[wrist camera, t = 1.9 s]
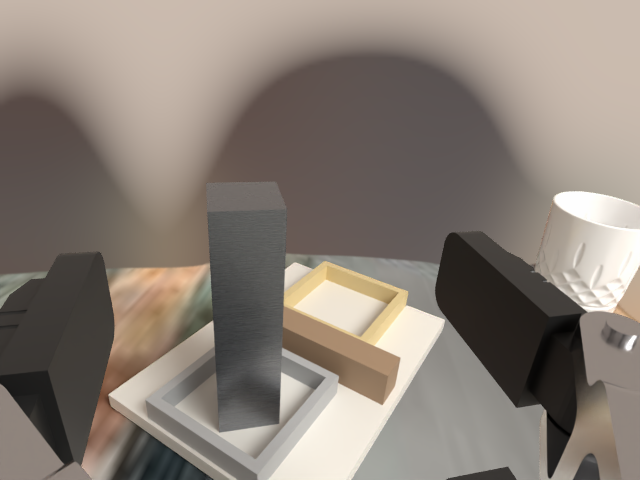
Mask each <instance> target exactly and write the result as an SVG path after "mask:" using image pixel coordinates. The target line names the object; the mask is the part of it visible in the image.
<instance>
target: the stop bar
mask: <svg viewBox="0 0 640 480" xmlns="http://www.w3.org/2000/svg"><path fill="white" fill-rule="evenodd" d="M206 186H207V214H208V231H209V250H210V269H211V288H212V306H213V325H214V343H215V362H216V380H217V398H218V417H219V433H220V432H227V431H234V430H241V429H248V428H255V427H261V426H268V425H275V424H279V420H280V392H281V364H282V336H283V309H284V281H285V253H286V225H287V208H286V205H285V203H284V200H283V198H282V196H281V194H280V191H279V188H278V186H277V183H276V182H237V183H236V182H235V183H206Z"/></svg>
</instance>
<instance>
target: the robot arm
mask: <svg viewBox="0 0 640 480" xmlns="http://www.w3.org/2000/svg"><path fill="white" fill-rule="evenodd" d="M435 294H436V300H437V304H438V306H439V308H440V310H441V311H442V313H443V314H444V315H445V316H446V318H447V319H448V320H449V322H450V323H451V324H452V325H453V327H454V328H455V329H456V331H457V332H458V333H459V334H460V336H461V337H462V338H463V340H464V341H465V342H466V343H467V345H468V346H469V347H470V349H471V350H472V351H473V352H474V354H475V355H476V356H477V358H478V359H479V360H480V361H481V363H482V364H483V365H484V367H485V368H486V369H487V370H488V372H489V373H490V374H491V376H492V377H493V378H494V379H495V381H496V382H497V383H498V385H499V386H500V387H501V388H502V390H503V391H504V392H505V393H506V395H507V396H508V397H509V399H510V400H511V401H512V402H513V404H514V405H515V406H516V408H518V407H525V406H531V405H537V404H541V405H542V406H543V407H544V411H543V413H542V416H541V418H540V455H539V480H640V323H638V322H637V321H634V320H632V319H630V318H627V317H625V316H622V315H618V314H615V313H610V312H603V311H593V312H587V311H586V310H584V309H583V308H582V307H581V306H579V305H578V304H577V303H576V302H574V301H573V300H572V299H571V298H569V297H568V296H567V295H566V294H564V293H563V292H562V291H561V290H560V289H558V288H557V287H556V286H555V285H553V284H552V283H551V282H547V279H546V278H545V277H543V276H542V275H541V274H540V273H538V272H535V269H533V268H532V267H531V266H530V265H528V264H527V263H526V262H524V261H523V260H522V259H521V258H519V257H517V256H515V255H513V254H511V253H509V252H507V251H505V250H504V249H502V248H501V247H500V246H499V245H498V244H496V243H495V242H494V241H493V240H492V239H490V238H489V237H488V236H487V235H485V234H484V233H483V232H481V231H471V232H454V233H450V234H449V235H448V236H447V238H446V240H445V243H444V248H443V253H442V258H441V262H440V267H439V272H438V277H437V282H436V287H435ZM113 339H114V313H113V308H112V302H111V297H110V292H109V286H108V281H107V275H106V270H105V265H104V260H103V257H102V255H101V253H100V252H83V253H65V254H59V255H58V256H57V258H56V260H55V262H54V264H53V265H52V267H51V269H50V270H49V272H48V274H47V276H46V278H43V279H31V280H30V281H28V282H27V283H25V284H24V285H23V286H21V287H20V288H18V289H17V290H16V291H14V292H13V293H12V294H10V295H9V297H8V298H7V300H6V301H5V303H4V305H3V306H2V308H1V309H0V480H92V479H91V478H90V477H89V475H88V474H87V473H86V472H85V471H84V469H83V468H82V467H81V464H82V461H83V457H84V453H85V449H86V445H87V441H88V437H89V433H90V429H91V426H92V422H93V418H94V414H95V410H96V406H97V402H98V398H99V394H100V390H101V387H102V383H103V379H104V375H105V371H106V367H107V363H108V359H109V355H110V352H111V348H112V344H113ZM447 480H516V478H515V477H514V475H513V474H512V472H511V471H510V469H509V468H508V467H504V468H499V469H494V470H489V471H484V472H478V473H473V474H468V475H463V476H458V477H453V478H448V479H447Z"/></svg>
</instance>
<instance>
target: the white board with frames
mask: <svg viewBox="0 0 640 480" xmlns="http://www.w3.org/2000/svg"><path fill="white" fill-rule="evenodd" d="M407 296H408V291H405V290H402V289H399V288H397V287H394V286H391V285H389V284H386V283H383V282H381V281H378V280H375V279H372V278H370V277H367V276H364V275H362V274H359V273H356V272H353V271H351V270H348V269H345V268H343V267H340V266H337V265H335V264H332V263H329V262H326V261H324V262H323V263H322V264H320V265H319V266H318V267H316V268H315V269H314V270H313V269H311V268H308V267H306V266H303V265H300V264H298V263H293V264H292V265H290V266H289V267H288V268H286V269H285V281H284V309H283V336H282V364H281V392H280V420H279V424H275V425H268V426H261V427H255V428H248V429H241V430H234V431H227V432H220V433H219V417H218V398H217V380H216V362H215V343H214V325H213V321H211V322H210V323H209V324H207V325H206V326H204V327H203V328H202V329H200V330H199V331H197V332H196V333H195V334H193V335H192V336H190V337H189V338H187V339H186V340H185V341H183V342H182V343H180V344H179V345H178V346H176V347H175V348H173V349H172V350H171V351H169V352H168V353H166V354H165V355H163V356H162V357H161V358H159V359H158V360H156V361H155V362H154V363H152V364H151V365H149V366H148V367H147V368H145V369H144V370H142V371H141V372H139V373H138V374H137V375H135V376H134V377H132V378H131V379H130V380H128V381H127V382H125V383H124V384H123V385H121V386H120V387H118V388H117V389H115V390H114V391H113V392H111V393H110V394H108V396H109V401H110V405H111V407H113V408H114V409H115V410H117V411H118V412H120V413H121V414H122V415H124V416H125V417H127V418H128V419H130V420H131V421H132V422H134V423H135V424H137V425H138V426H139V427H141V428H142V429H144V430H145V431H146V432H148V433H149V434H151V435H152V436H153V437H155V438H156V439H158V440H159V441H160V442H162V443H163V444H165V445H166V446H168V447H169V448H170V449H172V450H173V451H175V452H176V453H177V454H179V455H180V456H182V457H183V458H184V459H186V460H187V461H189V462H190V463H191V464H193V465H194V466H196V467H197V468H198V469H200V470H201V471H203V472H204V473H206V474H207V475H208V476H210V477H211V478H213V479H214V480H351V479H352V478H353V476H354V475H355V473H356V471H357V470H358V468H359V466H360V465H361V463H362V461H363V460H364V458H365V456H366V455H367V453H368V452H369V450H370V448H371V447H372V445H373V443H374V442H375V440H376V438H377V437H378V435H379V433H380V432H381V430H382V429H383V427H384V425H385V424H386V422H387V420H388V419H389V417H390V415H391V414H392V412H393V410H394V409H395V407H396V406H397V404H398V402H399V401H400V399H401V397H402V396H403V394H404V392H405V391H406V389H407V387H408V386H409V384H410V383H411V381H412V379H413V378H414V376H415V374H416V373H417V371H418V369H419V368H420V366H421V364H422V363H423V361H424V360H425V358H426V356H427V355H428V353H429V351H430V350H431V348H432V346H433V345H434V343H435V341H436V340H437V338H438V337H439V335H440V333H441V332H442V330H443V326H444V322H445V320H443V319H441V318H438V317H436V316H433V315H430V314H428V313H425V312H423V311H420V310H417V309H415V308H412V307H410V306H407V305H406V302H407Z"/></svg>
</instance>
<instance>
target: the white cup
mask: <svg viewBox="0 0 640 480" xmlns="http://www.w3.org/2000/svg"><path fill="white" fill-rule="evenodd" d="M639 266H640V206H638V205H636V204H634V203H631V202H628V201H625V200H622V199H618V198H615V197H611V196H607V195H602V194H597V193H590V192H578V191H571V192H562V193H559V194H557V195H555V196H554V198H553V201H552V205H551V209H550V213H549V216H548V219H547V223H546V227H545V230H544V234H543V238H542V241H541V245H540V249H539V252H538V256H537V261H536V265H535V268H534V269H535V272H538V273H540V274H541V275H542V276H543V277H545V278H546V279H547V282H551V283H552V284H553V285H555V286H556V287H557V288H558V289H560V290H561V291H562V292H563V293H564V294H566V295H567V296H568V297H569V298H571V299H572V300H573V301H574V302H576V303H577V304H578V305H579V306H581V307H582V308H583V309H584V310H586V311H587V312H593V311H603V312H610V313H613V311H614V310H615V308H616V306H617V303H618V302H619V300H620V299H621V298H622V297H623V295H624V293H625V292H626V290H627V288H628V285H629V284H630V282H631V281H632V279H633V278H634V276H635V274H636V272H637V270H638V268H639Z"/></svg>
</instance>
